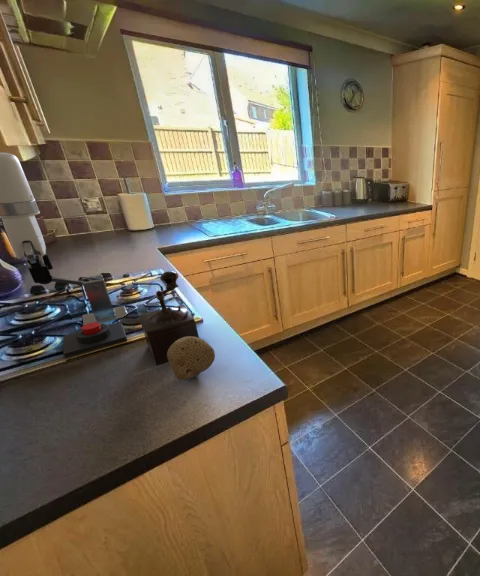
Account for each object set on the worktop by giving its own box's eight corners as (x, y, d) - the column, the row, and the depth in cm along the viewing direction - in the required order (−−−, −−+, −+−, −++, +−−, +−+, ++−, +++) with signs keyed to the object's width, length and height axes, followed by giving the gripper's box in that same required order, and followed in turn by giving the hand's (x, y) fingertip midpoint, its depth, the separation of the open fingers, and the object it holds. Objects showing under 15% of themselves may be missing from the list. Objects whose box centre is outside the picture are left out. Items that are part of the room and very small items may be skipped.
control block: (66, 361, 78) (60, 347, 77) (66, 343, 85) (60, 329, 83) (128, 344, 86) (124, 330, 84) (123, 328, 92) (119, 315, 91)
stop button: (84, 337, 81) (81, 330, 81) (83, 330, 84) (80, 325, 83) (102, 332, 84) (100, 326, 83) (101, 326, 86) (99, 320, 85)
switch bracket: (85, 330, 91) (68, 288, 85) (83, 318, 96) (68, 278, 91) (129, 319, 97) (116, 279, 92) (125, 308, 102) (113, 270, 97)
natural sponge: (217, 359, 81) (210, 325, 77) (218, 381, 74) (211, 344, 70) (174, 368, 78) (165, 332, 73) (172, 392, 70) (161, 354, 66)
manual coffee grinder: (205, 349, 85) (192, 286, 78) (155, 366, 78) (135, 298, 71) (188, 325, 95) (175, 267, 88) (143, 338, 88) (124, 276, 81)
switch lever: (33, 284, 83) (36, 273, 82) (34, 280, 85) (37, 269, 84) (100, 292, 92) (103, 282, 92) (99, 289, 94) (102, 278, 94)
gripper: (-4, 204, 81) (26, 269, 88) (-14, 217, 69) (21, 290, 76) (39, 201, 85) (63, 263, 92) (36, 213, 74) (64, 282, 81)
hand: (44, 275), depth 84 cm, fingers open, 9 cm apart
